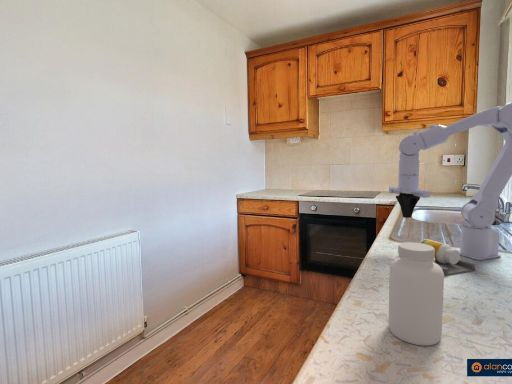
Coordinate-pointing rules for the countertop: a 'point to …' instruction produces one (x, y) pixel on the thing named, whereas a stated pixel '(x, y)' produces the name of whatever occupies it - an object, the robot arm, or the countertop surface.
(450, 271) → the stand
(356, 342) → the countertop surface
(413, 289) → the pill bottle
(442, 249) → the supplement bottle
